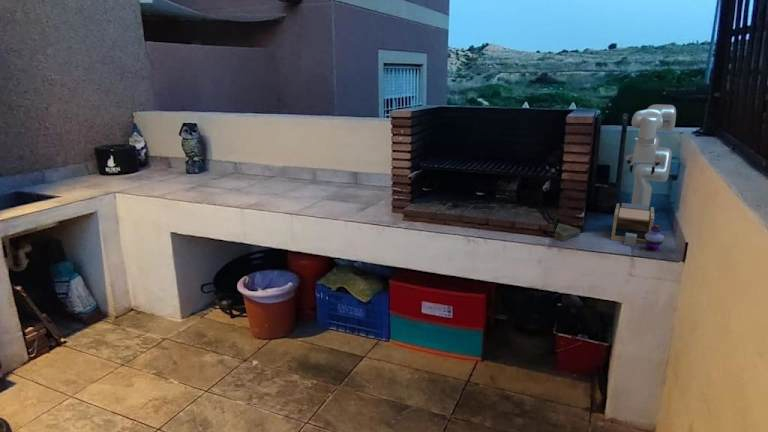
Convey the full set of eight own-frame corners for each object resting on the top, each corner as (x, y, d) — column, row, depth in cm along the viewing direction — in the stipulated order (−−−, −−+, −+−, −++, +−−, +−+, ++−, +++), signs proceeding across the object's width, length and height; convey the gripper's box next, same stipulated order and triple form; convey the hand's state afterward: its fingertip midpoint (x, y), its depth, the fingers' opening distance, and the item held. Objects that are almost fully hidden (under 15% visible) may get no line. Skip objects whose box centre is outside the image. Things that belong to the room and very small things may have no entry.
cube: (626, 232, 252) (624, 242, 254) (625, 235, 248) (624, 244, 249) (637, 234, 250) (635, 243, 251) (636, 236, 246) (635, 246, 247)
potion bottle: (664, 252, 239) (668, 228, 235) (644, 250, 241) (648, 227, 237) (660, 246, 247) (664, 223, 243) (640, 245, 249) (644, 222, 245)
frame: (613, 226, 278) (617, 202, 274) (649, 231, 270) (653, 206, 266) (610, 239, 257) (614, 213, 253) (650, 245, 249) (654, 218, 245)
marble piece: (562, 242, 254) (563, 234, 253) (539, 234, 266) (540, 227, 264) (582, 236, 263) (583, 228, 262) (559, 229, 275) (560, 221, 273)
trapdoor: (619, 209, 271) (620, 202, 270) (649, 212, 265) (650, 205, 264) (617, 222, 257) (618, 215, 255) (648, 226, 251) (649, 219, 249)
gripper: (627, 141, 256) (622, 173, 262) (665, 143, 249) (660, 176, 254) (627, 138, 263) (623, 170, 268) (665, 140, 255) (660, 173, 260)
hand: (641, 173), depth 261 cm, fingers open, 9 cm apart
